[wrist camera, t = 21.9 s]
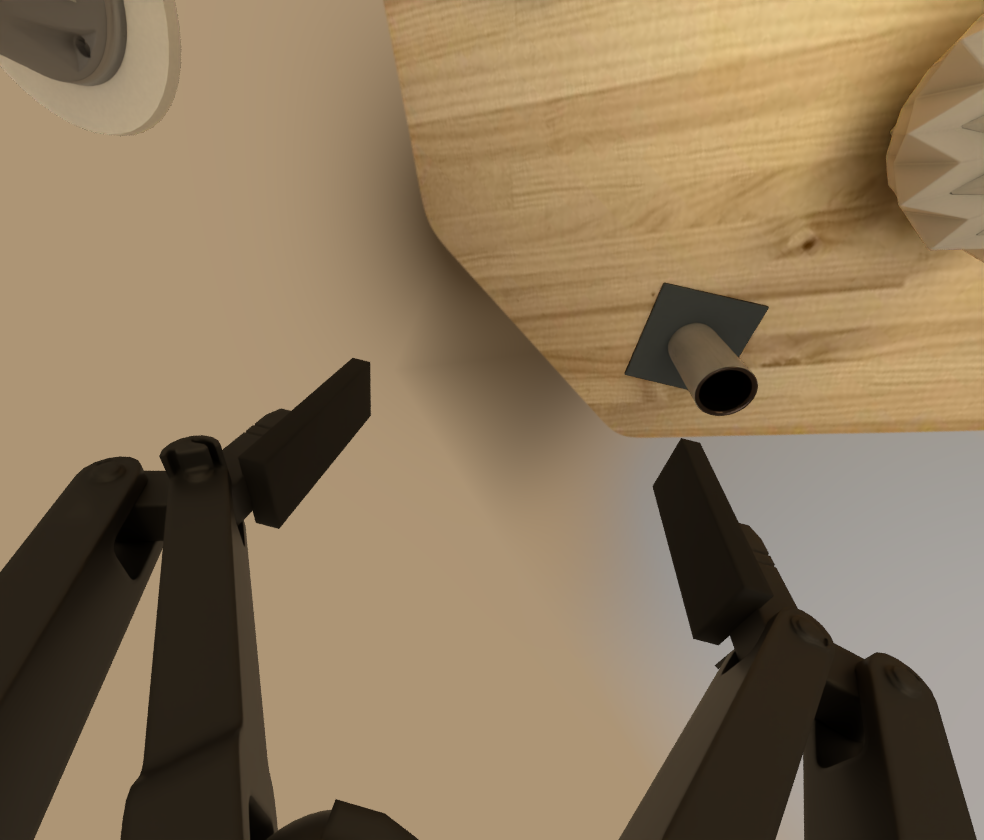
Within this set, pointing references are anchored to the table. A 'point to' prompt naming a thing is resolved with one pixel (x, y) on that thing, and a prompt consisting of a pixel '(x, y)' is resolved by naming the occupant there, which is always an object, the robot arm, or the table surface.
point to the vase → (944, 150)
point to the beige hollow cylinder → (711, 370)
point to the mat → (685, 308)
